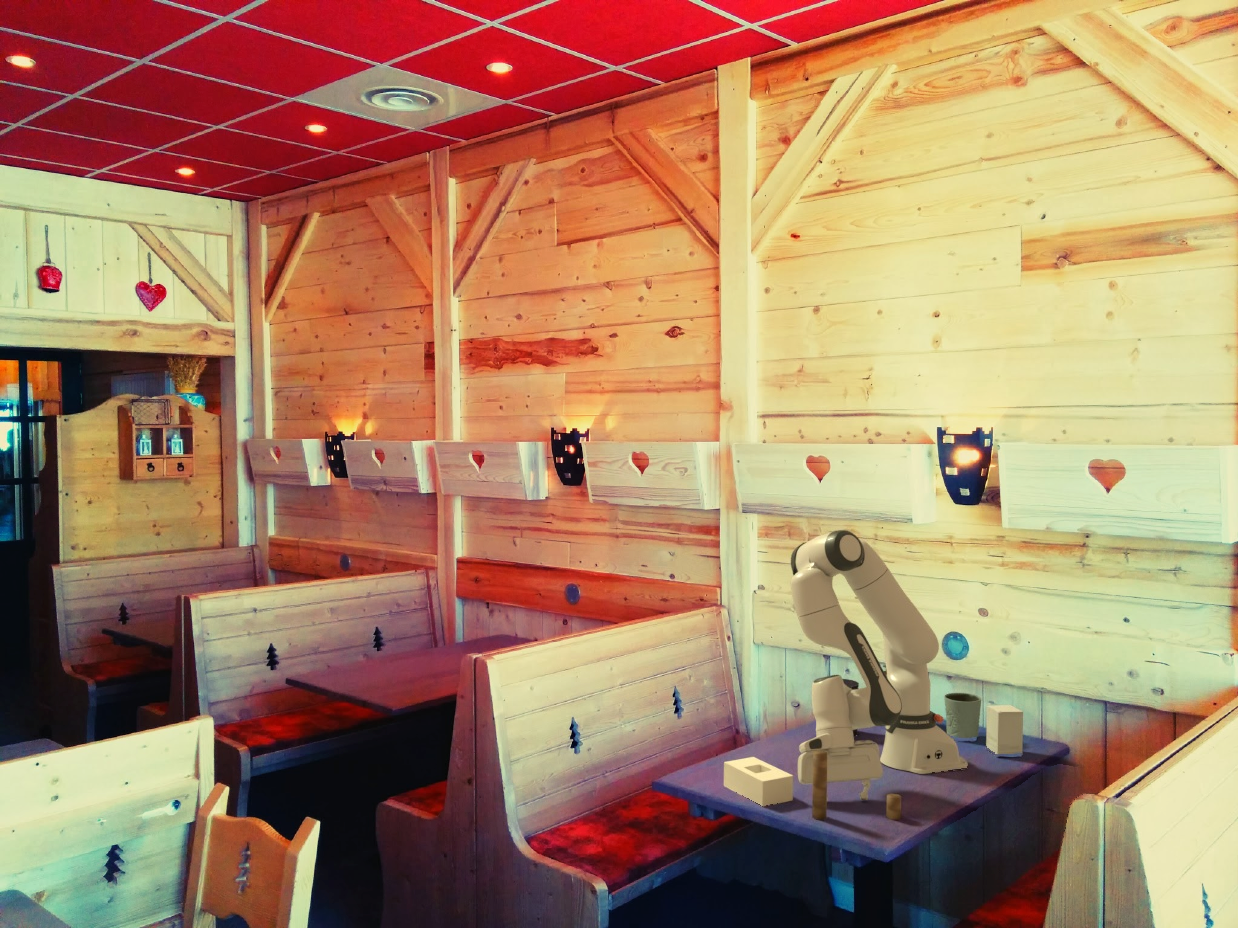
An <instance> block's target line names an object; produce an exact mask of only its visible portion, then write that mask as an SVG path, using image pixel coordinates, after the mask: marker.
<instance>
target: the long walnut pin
mask: <svg viewBox="0 0 1238 928" xmlns="http://www.w3.org/2000/svg"><path fill="white" fill-rule="evenodd" d="M827 794H828V783H827V752H825V751H820V750H818V751H814V752H813V784H812V807H811V808H812V813H811V814H812V819H813V820H814V819H815V820H818V821H824V820H827V807H828V805H827V804H828V803H827V799H828V798H827V796H828V795H827Z"/></svg>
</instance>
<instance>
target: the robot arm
mask: <svg viewBox="0 0 1238 928" xmlns="http://www.w3.org/2000/svg"><path fill="white" fill-rule="evenodd" d="M790 567H791V568H790V569H791V571H792V575H793V576H792V577H791V580H790V591H791V597H792V601H793V606H794V610H795V613H796V616H797V617H798V622H799V625H800V627H801V630H802V632H803V633H804V635H805V637H806V638H807V639H809V640H810V641H811V642H813V643H814V644H817V645H819V646H823V647H828V648H834V649H837V650H841V651H842V652H844V653H846V654H847V655H849V657H850V658H851V659H852V660H853V663H854V665H855V666H856V668H857V670H858V672H859V675H860V676H861V679H862V680H863V682H864V684H865V687H862V688H859V689H856V690H852V689H851V688H849V687H847V686H846V685H845V684H844V682H843V679H844V678H843V677H842V675H841V674H832V675H827V676H823V677H818V678H816V679H814V680H813V681H812V683H811V705H812V712H813V716H814V718H815V722H816V723H815V724H816V725H815V733H816V734H815V735H816V737H812V738H809V740H806V741H803V742H802V743H800V744H799V746H798V750H799V752H800V753H801V754H799V756H798V758H797V777H798V778H797V779H798V781H799V783H800V784H801V785H813V752H814V751H818V750H820V751H825V752H827V784H829V783H842V782H856V781H861V784H862V785H863V786H864V787H863V789H862V792H859V793H858V795H859V800H860V801H868V800H869V796H868V792H869V790H870V786H871V780H880V779H881V778H882V777H883V775H884V769H883V765H885V766H887V767H889V768H893V769H897V770H900V771H908V772H912V773H915V774H920V775H926V774H932V772H935V773H942V772H941V771H944V772H949V771H948V770H952V769H961V768H967V766H968V764H969V763H968V761H967V760H966V759H965V758H964V757H962V755H959V754H960V753H959V748H958V744H957V741H954V739H953V738H951V737H950V736H949V735H948V734H947V732H946V731H944V730H943V729H942V728H941V727H939V726H938V725H937V724H942V723H943V722H944V720H945V719H944V717H943V715H941V714H938V713H935V712H933V711H932V710H931V681H930V675H929V672H928V664H929V663H931V662H932V661H933V660H935V658H936V656H937V655H938V653H939V649H940V643H939V640H938V637H937V635H936V633H935V631H934V630H933V629H932V627H931V626H930V625H929V623H928V622H927V620H926V619H925V618H924V616H923V615H922V614H921V612H920V611H919V610H918V608H917V607H916V605H915V604H914V603H913V602H912V600H911V599H910V598H909V597H908V595H907V594H906V592H904V590H903V588H902V587H901V585H900V584H899V582H898V580H897V579H896V577H894V575H893V574H892V572H891V571H890V569H889V567H888V566H887V565H886V563H885V562H884V560H883V559H882V558H881V557H880V555H879V554H878V553H877V551H875V549H874V548H872V546H871V545H870V544H869V543H868V542H866V541H865V540H863V539H860V538H859V537H858V536H857V535H856V534H854V533H853V532H852V531H849V530H845V529H841V530H838V529H837V530H833V531H832V532H828V533H823V534H820V535H817V536H816V537H814V538H812V539H810V540H808V541H806V542H802V543H801V544H799V545H798V546H797V547H796V548H794V550H793V551H792V552H791V557H790ZM840 574H841V575H842V576H843V577H844V579H845V580H846V582H847V584H848V586H849V587H850V589H851V590H852V592H853V593H854V595H855V596H856V597H857V599H858V601H859V602H860V604H861V605H862V607H863V608H864V609H865V611H866V613H867V614H868V615H869V617H870V618H871V619H872V621H873V622H874V624H876V626H877V627H878V628H879V629H878V630H880V632H881V633H882V638H883V648H884V649H883V651H884V659H885V665H886V668H885V670H884V669H883V666H881V664H880V662H879V659H878V658H877V656H876V654H875V653H874V650H873V648H872V646H871V645H870V643H869V641H868V639H867V636H866V635H865V633H864V632H863V630H862V629H861V628H860V627H859V626H858V625H857V624H856V623H854V622H852V621H850V619H849V618H848V617H847V616H846V614H845V613H844V611H843V610H842V608H841V605H840V602H839V599H838V597H837V594H836V592H835V590H834V588H833V580H834V577H835V576H837V575H840ZM886 670H887V677H886V675H885V673H884V671H886ZM873 727H885V728H884V729H885V736H884V742H883V748H882V752H880V747H879V745H878V743H877V742H875V741H874V740H872V739H866V740H855V739H854V738H855V737H854V736H853V730H854V729H858V730H859V729H861V730H862V729H867V728H873ZM880 753H881V755H880ZM882 764H883V765H882ZM968 767H969V766H968ZM967 769H968V768H967ZM961 770H962V769H961ZM828 803H829V800H828V795H827V804H828Z"/></svg>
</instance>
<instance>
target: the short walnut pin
mask: <svg viewBox="0 0 1238 928" xmlns="http://www.w3.org/2000/svg"><path fill="white" fill-rule="evenodd" d="M885 818H887V819H888V820H891V821H900V820H901V818H902V796H901V795H900V794H898V793H888V794H886V817H885Z"/></svg>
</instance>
